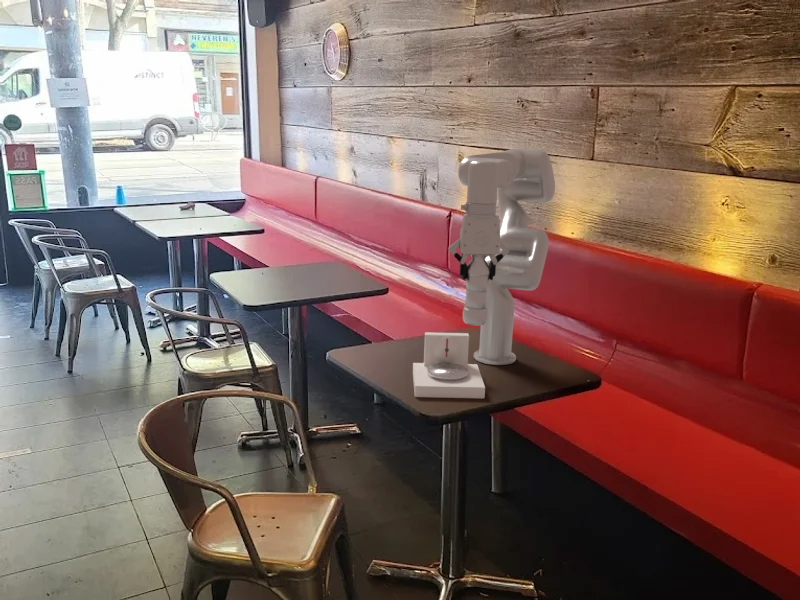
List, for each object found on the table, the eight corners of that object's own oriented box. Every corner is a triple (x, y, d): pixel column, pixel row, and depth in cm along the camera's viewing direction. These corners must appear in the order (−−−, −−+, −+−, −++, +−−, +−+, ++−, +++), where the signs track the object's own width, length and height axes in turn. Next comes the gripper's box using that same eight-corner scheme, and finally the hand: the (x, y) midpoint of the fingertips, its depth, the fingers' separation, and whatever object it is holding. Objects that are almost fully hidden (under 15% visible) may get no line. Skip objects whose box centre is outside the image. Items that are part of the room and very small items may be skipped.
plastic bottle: (470, 320, 202) (473, 247, 198) (492, 324, 198) (496, 250, 194) (457, 325, 197) (460, 250, 192) (479, 329, 193) (483, 253, 189)
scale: (412, 372, 211) (414, 332, 208) (476, 374, 211) (478, 333, 208) (414, 396, 193) (416, 352, 190) (484, 398, 193) (487, 354, 190)
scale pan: (426, 365, 206) (426, 362, 206) (466, 366, 207) (466, 363, 206) (428, 379, 196) (428, 376, 195) (470, 380, 196) (470, 377, 196)
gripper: (449, 210, 186) (445, 281, 191) (517, 212, 188) (513, 282, 192) (445, 207, 194) (442, 275, 198) (511, 208, 195) (507, 276, 199)
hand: (477, 278), depth 195 cm, fingers closed on plastic bottle, 6 cm apart
